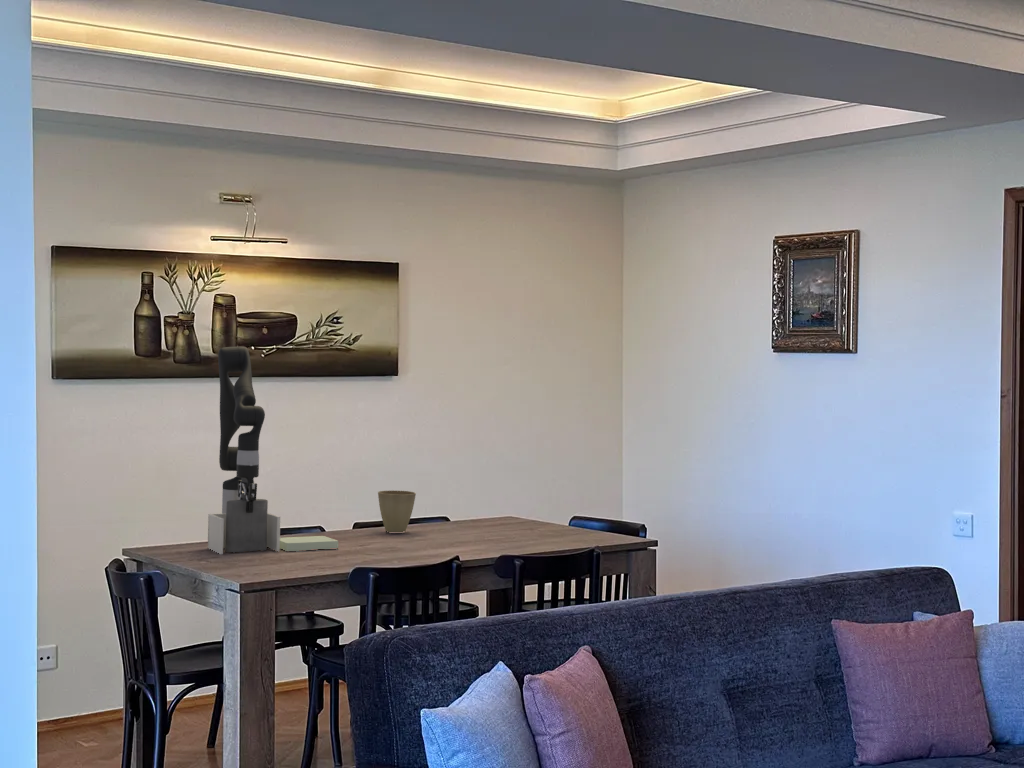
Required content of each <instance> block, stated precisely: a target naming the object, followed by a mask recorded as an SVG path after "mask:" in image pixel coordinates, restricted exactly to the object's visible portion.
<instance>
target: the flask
mask: <svg viewBox="0 0 1024 768" xmlns="http://www.w3.org/2000/svg"><path fill="white" fill-rule="evenodd" d="M251 497H252V496H251ZM241 498H242V500H229V501H227V507H226V544H225V548H224V551H225V553H227V552H233V553H232V554H236V553H235V552H239V553H245V552H244V551H249V552H258V551H257V550H265V551H266V550H267V547H266V546H267V513H268V510H269V509H268V506H269V505H268V503H269V501H268V499H265V498H256V500H255V501H254V502H253V513H247V512H246V504H247V501H246V496H245V495H244V493H242V494H241Z"/></svg>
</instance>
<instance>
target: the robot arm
mask: <svg viewBox="0 0 1024 768" xmlns="http://www.w3.org/2000/svg"><path fill="white" fill-rule="evenodd" d="M217 355H218V357H217V359H218V360H217V361H218V374H219V423H220V425H219V427H220V439H219V441H220V442H219V458H218V459H219V461H218V462H219V467H220V469H221V471H225V472H236V473H235V474H236V475H235V476H234V477H232V478H230V479H226V480H224V481H222V492H221V493H222V499H221V509H222V510H221V514H226V507H227V501H229V500H242V498H241V494H242V493H244V495H245V496H246V501H247V504H246V512H247V513H253V502H254V501H255V500H256V499H257V495H258V494H257V492H258V491H257V490H258V484H257V483H255V481H254V479H255V478H258V477H259V475H260V474H259V473H260V472H259V471H260V452H259V449H260V446H259V445H260V443H259V442H260V434H261V432H262V427H263V424H264V420H265V418H266V417H265V416H266V412H265V410H264V408H263V407H261V406H260V405H256V401H257V400H256V396H255V391H254V387H253V376H252V375H253V371H252V363H251V355H250V351H249V349H248V348H247V347H246V346H243V345H241V346H227V347H226V346H225V347H220V349H219V350H218V354H217ZM238 372H239V373H240V376H239V377H238V378H237V380H236V381H235V382H234V383H233V382H232V381H231V379H230V376H229V373H238ZM240 427H252V429H250V431H247V432H241V433H239V435H238V437H237V439H238V441H237V446H230V445H229V444H230V442H231V440H232V438H233V436H234V435H235V434H236V432H237V431H238V430H239V429H240ZM251 496H252V497H251Z"/></svg>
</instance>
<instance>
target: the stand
mask: <svg viewBox="0 0 1024 768" xmlns="http://www.w3.org/2000/svg"><path fill="white" fill-rule="evenodd" d="M330 548H338V549H339V540H337V539H334V538H332V537H331V538H330V537H328V536H325V535H316V536H314V535H311V536H310V535H309V536H294V537H293V536H290V537H289V536H288V537H280V550H281V549H283V550H285V551H284V552H286V551H296V552H300V551H299V550H311V549H330ZM283 550H282V551H283Z"/></svg>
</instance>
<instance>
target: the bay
mask: <svg viewBox="0 0 1024 768" xmlns="http://www.w3.org/2000/svg"><path fill="white" fill-rule="evenodd" d="M207 522H208V524H207V525H208V526H207V549H208V548H209V549H208V550H210V549H211V551H212V550H213V551H212V552H214V551H215V552H214V553H216V552H217V554H218V553H219V554H218V555H224V549H225V544H226V514H222V513H209V514H208V519H207ZM280 538H281V516H278V515H277V514H276V515H275V514H272V513H270V512H267V546H266V548H267V547H269V548H271V549H270V550H272V549H274V550H276V551H275V552H277V551H278V552H280V550H281V549H280ZM269 548H268V549H269ZM274 550H273V551H274Z"/></svg>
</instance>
